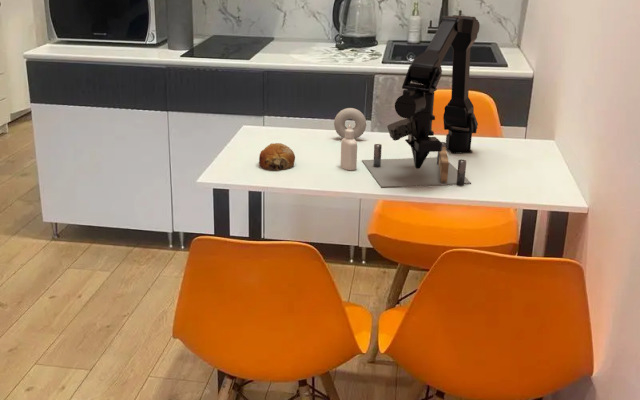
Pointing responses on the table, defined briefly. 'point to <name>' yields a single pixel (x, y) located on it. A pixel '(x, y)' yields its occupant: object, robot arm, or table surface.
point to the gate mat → (410, 173)
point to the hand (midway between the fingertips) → (417, 168)
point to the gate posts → (460, 163)
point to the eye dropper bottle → (349, 150)
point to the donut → (350, 114)
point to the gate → (443, 164)
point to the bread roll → (276, 157)
